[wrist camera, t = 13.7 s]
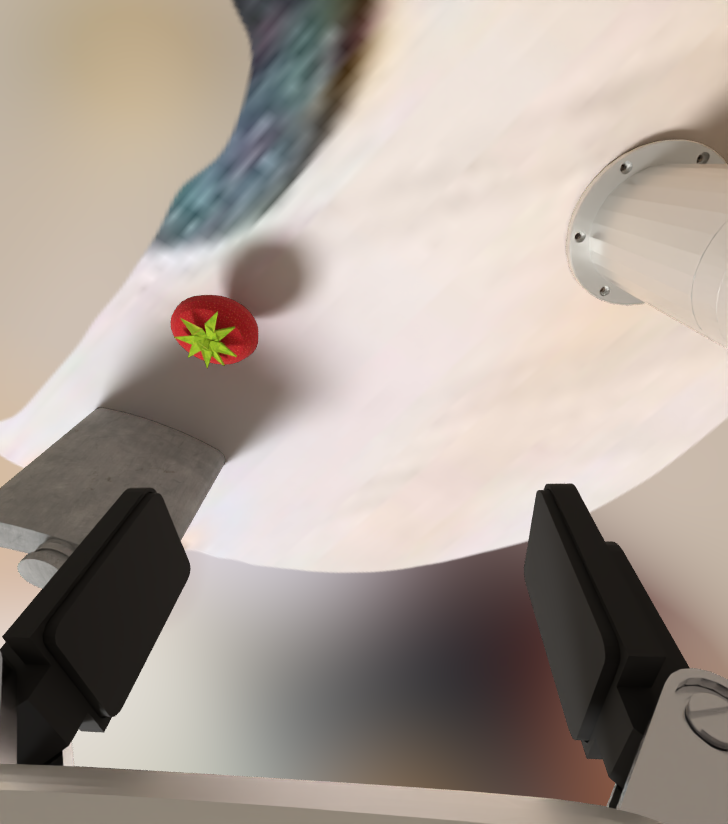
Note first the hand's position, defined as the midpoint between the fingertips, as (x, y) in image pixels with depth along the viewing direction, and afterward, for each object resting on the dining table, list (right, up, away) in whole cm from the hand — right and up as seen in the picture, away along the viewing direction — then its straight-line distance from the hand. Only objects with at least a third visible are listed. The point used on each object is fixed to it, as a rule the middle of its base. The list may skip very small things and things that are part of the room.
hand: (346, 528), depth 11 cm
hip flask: (-24, 0, +40) cm, 46 cm away
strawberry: (-12, +13, +32) cm, 36 cm away
